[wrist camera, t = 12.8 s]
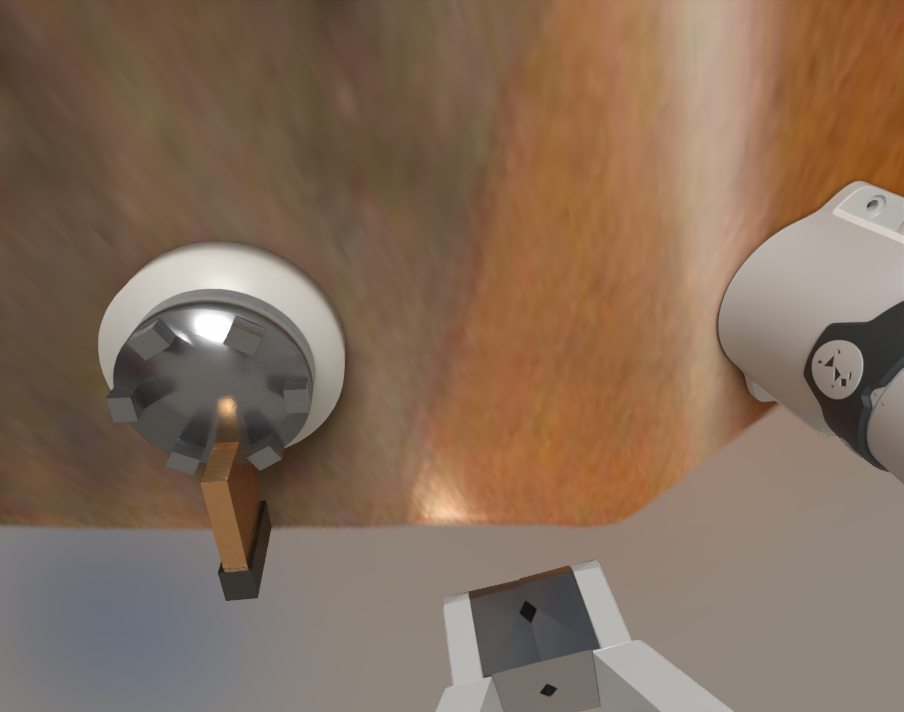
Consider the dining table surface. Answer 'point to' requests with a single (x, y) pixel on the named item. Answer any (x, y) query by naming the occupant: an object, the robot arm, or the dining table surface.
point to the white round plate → (247, 275)
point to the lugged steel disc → (219, 408)
